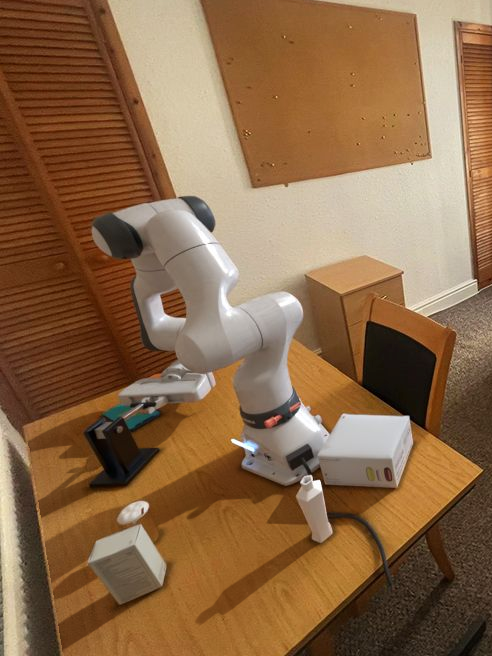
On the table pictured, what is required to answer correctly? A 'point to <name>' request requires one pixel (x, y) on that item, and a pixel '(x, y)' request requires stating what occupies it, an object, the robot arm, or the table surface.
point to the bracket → (117, 454)
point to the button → (156, 376)
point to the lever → (124, 416)
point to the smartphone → (133, 421)
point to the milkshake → (139, 518)
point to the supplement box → (366, 450)
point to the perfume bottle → (314, 508)
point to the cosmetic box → (128, 564)
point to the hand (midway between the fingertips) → (142, 412)
